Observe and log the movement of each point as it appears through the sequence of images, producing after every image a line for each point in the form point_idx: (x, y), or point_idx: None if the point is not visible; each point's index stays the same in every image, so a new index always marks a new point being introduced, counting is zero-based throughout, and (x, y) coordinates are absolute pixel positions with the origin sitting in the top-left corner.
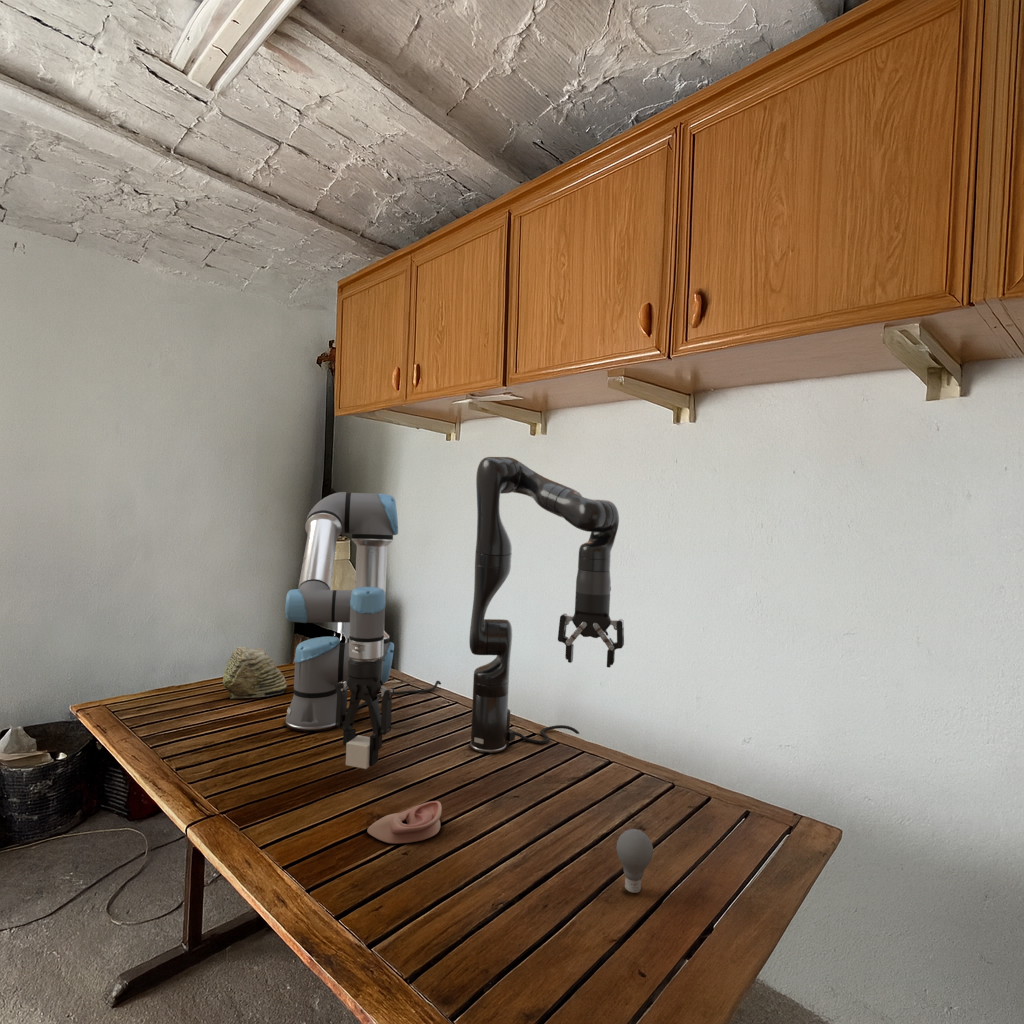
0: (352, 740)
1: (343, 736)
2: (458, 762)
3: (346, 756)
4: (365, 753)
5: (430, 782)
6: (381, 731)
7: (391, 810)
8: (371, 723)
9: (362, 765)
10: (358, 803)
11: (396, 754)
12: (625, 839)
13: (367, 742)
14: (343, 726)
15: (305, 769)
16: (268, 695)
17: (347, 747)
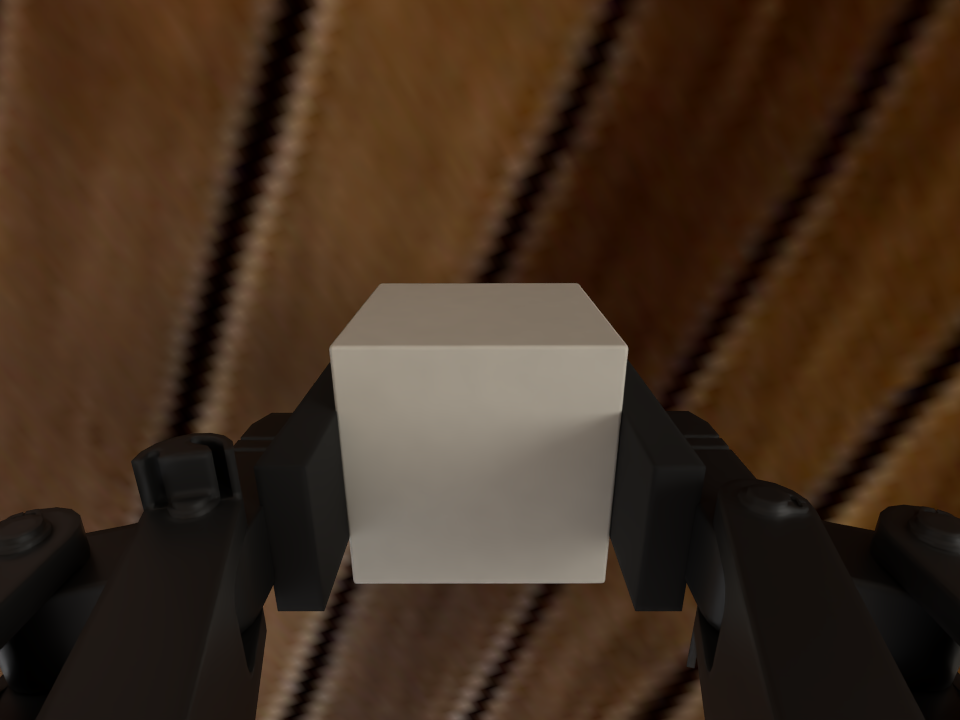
0: (595, 442)
1: (735, 458)
2: None
3: (587, 303)
4: (365, 321)
5: (113, 472)
6: (54, 543)
7: (69, 40)
8: (199, 638)
9: (412, 288)
10: (332, 48)
11: (475, 679)
12: None
13: (395, 453)
14: (815, 529)
15: (901, 363)
16: None
17: (599, 330)
